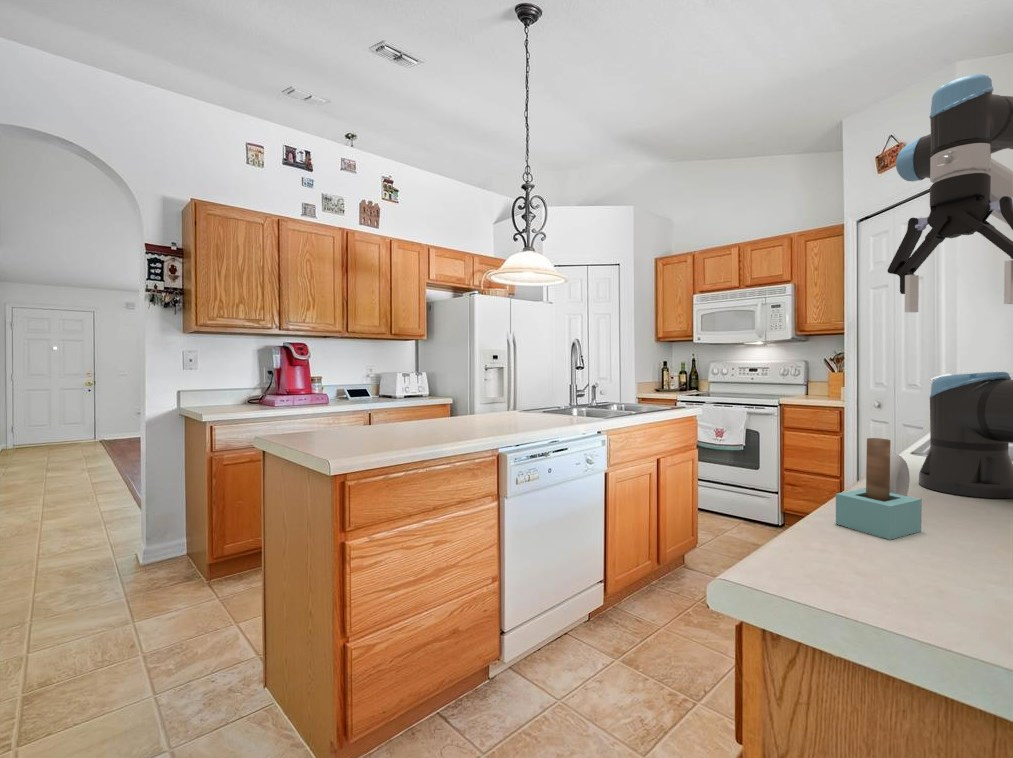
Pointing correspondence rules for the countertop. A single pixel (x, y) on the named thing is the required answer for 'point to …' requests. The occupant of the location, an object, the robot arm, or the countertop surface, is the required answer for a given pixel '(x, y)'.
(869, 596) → the countertop surface
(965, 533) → the countertop surface
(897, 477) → the grey rounded flat slab
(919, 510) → the teal socket block
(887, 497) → the thick dowel
